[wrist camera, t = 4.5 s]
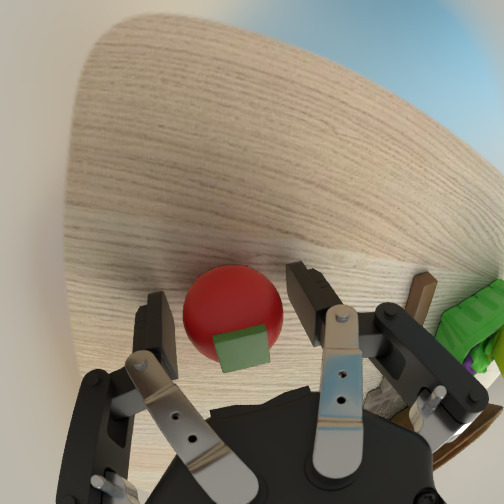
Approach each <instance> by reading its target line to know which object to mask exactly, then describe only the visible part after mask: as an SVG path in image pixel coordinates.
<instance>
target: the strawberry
mask: <svg viewBox="0 0 504 504" xmlns="http://www.w3.org/2000/svg"><path fill="white" fill-rule="evenodd" d="M183 323H184V327H185V331H186V333H187V336H188V338H189V339H190V341H191V342H192V344H193V345H194V346H195V348H196V349H197V350H198V351H199V352H200V353H202V354H203V355H205V356H206V357H208V358H209V359H211V360H214V361H216V362H219V363H220V365H221V368H222V372H223V373H227V372H232V371H236V370H241V369H245V368H249V367H253V366H257V365H261V364H265V363H269V362H270V354H269V349H270V348H271V347H272V346H273V344H274V343H275V342H276V340H277V338H278V336H279V334H280V331H281V328H282V324H283V306H282V302H281V299H280V296H279V294H278V292H277V290H276V288H275V287H274V285H273V284H272V283H271V282H270V281H269V280H268V279H267V278H266V277H265V276H264V275H262V274H261V273H259V272H258V271H256V270H254V269H252V268H249V267H248V266H241V265H225V266H220V267H217V268H214V269H211V270H209V271H208V272H206V273H204V274H203V275H201V276H198V277H197V280H196V281H195V283H194V284H193V285H192V286H191V288H190V289H189V291H188V293H187V296H186V298H185V301H184V305H183Z"/></svg>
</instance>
